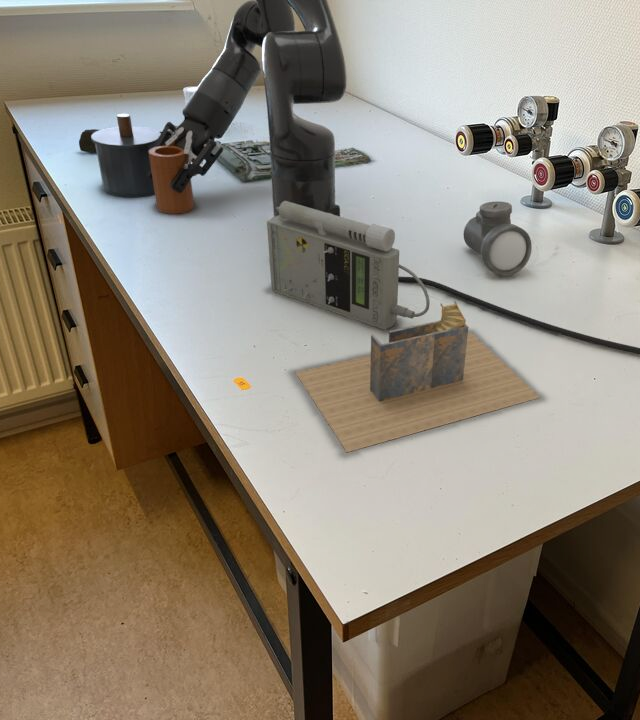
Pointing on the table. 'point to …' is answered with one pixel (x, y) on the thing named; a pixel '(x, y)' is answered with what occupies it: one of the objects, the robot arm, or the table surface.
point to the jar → (169, 180)
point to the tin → (125, 170)
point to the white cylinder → (189, 92)
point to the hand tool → (90, 141)
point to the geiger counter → (337, 264)
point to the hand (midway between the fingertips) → (163, 184)
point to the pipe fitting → (498, 239)
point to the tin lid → (125, 135)
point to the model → (269, 159)
